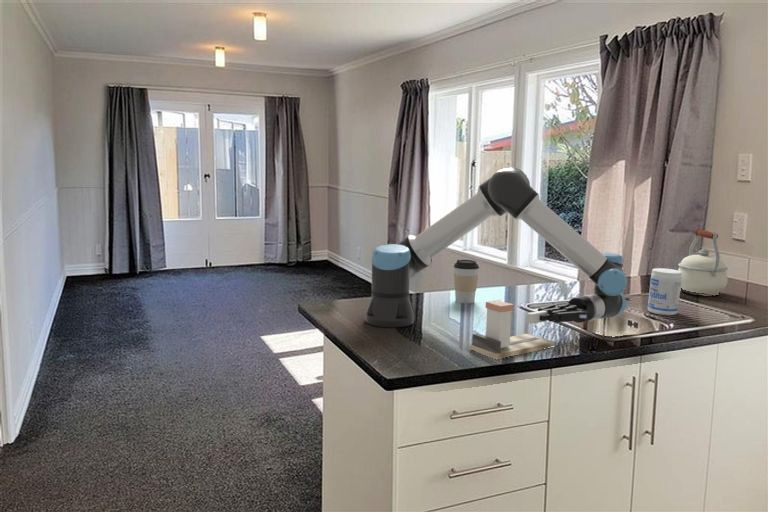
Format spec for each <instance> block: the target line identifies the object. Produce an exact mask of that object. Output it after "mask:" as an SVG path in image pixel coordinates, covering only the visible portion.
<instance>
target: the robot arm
mask: <svg viewBox="0 0 768 512" xmlns="http://www.w3.org/2000/svg"><path fill="white" fill-rule="evenodd" d="M506 213H507V214H509V215H510V216H512V217H513V219H515V220H522V222H524V223H525V224H526V225H527V226H528V227H530V228H531V229H532V230H533V231H534V232H535V233H537V234H538V235H539V236H540V237H541V238H542V239H543V240H545V242H547V243H548V244H549V245H551V247H553V248H554V249H555V250H556V251H557V252H559V253H560V254H561V255H562V256H563V257H564V258H565V259H567V260H568V261H569V262H570V263H571V265H573V266H574V267H575V268H576V269H578V270H579V271H580V272H582V274H584V275H585V276H586V277H587V278H588V279H589V280H590V281H592V283H594V287H593V294H586V295H581V296H580V295H579V296H576V297H575V296H574V297H572V298H570V299H569V301H568V302H567V303H563V304H559V305H557V304H556V303H555V302H551V303H550V304H547V305H545V306H541V307H538V309H537V311H531V312H528V313H527V314H526V323H527V324H530V325H532V324H538V323H543V322H547V321H548V322H555V323H565V322H567V323H568V322H575V323H579V324H582V323H586V322H589V323H592V322H593V321H595V320H599V319H601V320H602V319H606V318H614V317H616V316H618V315H621V314H623V313H624V312H625V311H626V309H627V306H628V305H627V300H626V299H625V298H626V297H625V295H624V294H623V293H624V292H625V290H626V288H627V284H628V277H627V276H626V274H625V272H623V266H624V263H623V262H624V261H623V260H624V258H623V255H621V254H619V253H611V252H603V253H602V252H600V251H599V250H598V249H597V248H596V247H595V246H594V245H593V244H592V243H590V242H589V241H588V240H587V239H586V238H585V237H584V236H582V235H581V234H580V233H579V232H578V231H576V229H574V228H573V227H572V226H571V225H570V224H568V222H566V221H565V220H564V219H563V218H561V217H560V216H559V215H558V214H556V212H555V211H553V210H552V209H551V208H550V207H549V206H548V205H546V204H545V202H543V201H542V200H541V198H540V194H539V193H538V192H537V191H536V190H535V189H533V187H532V186H531V183H530V179H529V178H528V176H527V174H525V172H524V171H523V170H521V169H520V168H517V167H504V168H502V169H499V170H497V171H496V172H494V173H493V175H492V176H491V177H490V178H488V179H487V180H485V181H484V182H483V183H481V184H480V185H478V187H477V192H476V193H475V194H474V195H473V196H471V197H470V198H468V199H467V200H465V201H464V202H462V203H461V204H459V206H457V207H455V208H454V209H453V210H451V211H449V213H447V214H446V215H444V216H443V217H441V218H440V219H438V220H437V221H436V222H434V223H433V224H432V225H430V226H429V227H427V228H426V229H424V230H423V231H421V232H420V233H419V234H418V235H411V234H409V235H407V237H406V238H404V239H403V240H400V242H398V243H397V244H395V243H394V244H393V243H392V244H390V243H389V244H384V245H378V246H376V247H375V248H374V249H373V251H372V255H371V296H370V297H371V298H370V300H369V303H368V306H367V308H366V311H365V316H364V317H365V323H366V324H368V325H371V326H375V327H379V328H403V327H409V326H411V325H413V324H414V322H415V314H414V311H413V307H412V303H411V300H410V279H412V278H413V277H415V276H416V275H417V274H419V273H420V272H421V271H423V270H425V269H427V267H428V266H430V265H431V263H432V258H434V257H435V256H437V255H438V254H440V253H441V252H442V251H444V250H445V249H447V248H448V247H449V246H451V245H452V244H454V243H455V242H457V241H458V240H460V239H462V238H463V237H464V236H465V235H467V234H469V233H470V232H471V231H473V230H474V229H476V228H477V227H478V226H480V225H482V224H483V223H485V222H486V221H487V220H489V219H491V218H492V217H501V216H503V215H505V214H506Z"/></svg>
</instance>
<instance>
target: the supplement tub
mask: <svg viewBox="0 0 768 512" xmlns="http://www.w3.org/2000/svg"><path fill="white" fill-rule="evenodd" d="M681 279H682V272H681V271H678V270H677V269H671V268H664V267H663V268H660V267H659V268H658V267H657V268H652V270H651V274H650V281H649V282H650V284H649V293H648V302H647V311H648V312H650V313H653V314H655V315H664V316H675V315H677V313H678V312H679V303H680V295H681Z"/></svg>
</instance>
